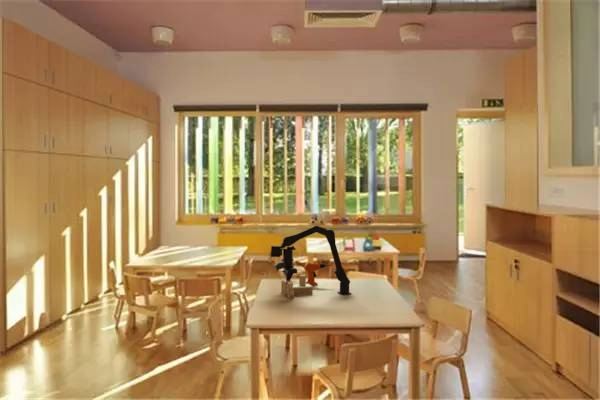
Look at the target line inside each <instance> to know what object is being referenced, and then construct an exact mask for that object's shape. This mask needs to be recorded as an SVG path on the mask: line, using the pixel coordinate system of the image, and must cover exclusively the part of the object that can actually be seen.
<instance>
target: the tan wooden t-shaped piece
mask: <svg viewBox="0 0 600 400" xmlns="http://www.w3.org/2000/svg"><path fill="white" fill-rule="evenodd" d="M313 289H314V288H313V287H311V288H294V289H292V286H291V285H289V284H288V283H286V281H284V280H281V293H282V294H283V295H284V296H286V297H288V298H289V299H291V300H292V299H295V296H303V295H313V291H314V290H313Z"/></svg>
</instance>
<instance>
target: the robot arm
mask: <svg viewBox="0 0 600 400" xmlns="http://www.w3.org/2000/svg"><path fill="white" fill-rule="evenodd" d="M315 233H318V234H320V235H323V236H325V238H326V241H327V244H328V245H329V247H330V248H329V249H330V252H331V254H332V255H331V257H332V259H333V262H334V266H335V269H333V272H334V277H335V279H337V280H338V281H339V291H337V293H338V294H340V295H342V296H343V295H344V296H345V295H352V292H350V283H351V280H350V278H349V277H347V274H346V271H345V270H344V267H343V266H342V263H341V259H340V254H339V252H338V248H337V244H336V234H335V231H334V230H333V229H331V228H325V227H322V226H319V225H317V224H315V225H313V226H312V227H309V228H306V229H305V230H302V231H300V232H298V233H295V234H294V233H293V234H290V235H289V234H288V235H286V236H284V238H283V240H282V243H281V244H280V245H271V246H270V249H271V250H270V258H281V256H282V257H283V258H281V261H278V262H276V263H274V264H273V267H274V270H275V271H279V270H281V272H282V273H283V274H284V277H285V281H286V280H291V279H292V277H293V275H294V274H298V269H297V268H296V267H294V265H293V263H294V262H293V261H294V257H293V256H294V254H293V253H294V251H296V250H297V248H296V247H295V246H294V245H293V244H296V243H297V242H298V241H300V240H302V239H305V238H306V237H309V236H310V235H313V234H315Z"/></svg>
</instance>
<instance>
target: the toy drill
mask: <svg viewBox="0 0 600 400" xmlns="http://www.w3.org/2000/svg"><path fill="white" fill-rule="evenodd" d="M326 267H333V264H332V263H331V264H324V263H317V262H315V263H312V262H308V263H307V264H306V265H305V266H304V270H305V272H307V281H306V284H309V285H311V286H314V287H315V286H317V287H318V282H317V281H315V278H316V277H317V276H318V275H317V274H316V272H315V271H318V270H321V269H325V268H326Z"/></svg>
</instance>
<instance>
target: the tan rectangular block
mask: <svg viewBox="0 0 600 400" xmlns="http://www.w3.org/2000/svg"><path fill="white" fill-rule="evenodd" d="M285 282H286V283H288V284H289V285H291V286H292V287H293V285H294V281H293V280H291V279H290V280H286V279H285Z"/></svg>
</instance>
